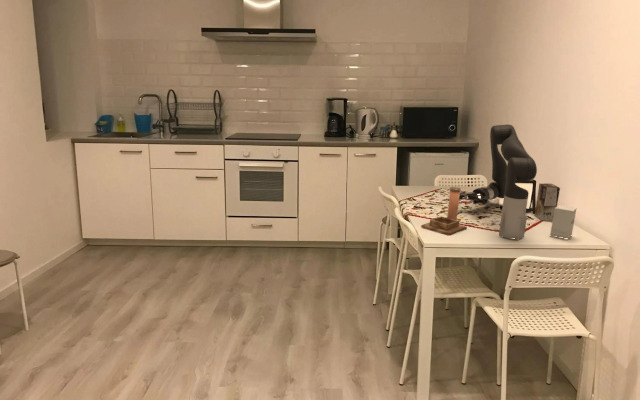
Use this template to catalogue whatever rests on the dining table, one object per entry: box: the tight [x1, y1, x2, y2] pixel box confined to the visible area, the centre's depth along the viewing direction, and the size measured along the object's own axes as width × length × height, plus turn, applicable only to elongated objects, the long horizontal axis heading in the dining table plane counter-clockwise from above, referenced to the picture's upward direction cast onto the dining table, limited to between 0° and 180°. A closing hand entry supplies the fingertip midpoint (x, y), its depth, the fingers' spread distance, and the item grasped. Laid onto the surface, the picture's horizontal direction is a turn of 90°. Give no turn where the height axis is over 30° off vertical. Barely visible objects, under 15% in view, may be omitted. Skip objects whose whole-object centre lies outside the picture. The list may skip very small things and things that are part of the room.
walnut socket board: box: [420, 215, 468, 236], centre depth 225 cm, size 14×14×4 cm
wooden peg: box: [446, 186, 461, 221], centre depth 235 cm, size 5×5×15 cm
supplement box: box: [550, 204, 577, 239], centre depth 219 cm, size 7×7×13 cm
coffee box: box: [534, 182, 561, 222], centre depth 245 cm, size 9×6×16 cm
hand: (465, 200), depth 242 cm, fingers open, 8 cm apart
